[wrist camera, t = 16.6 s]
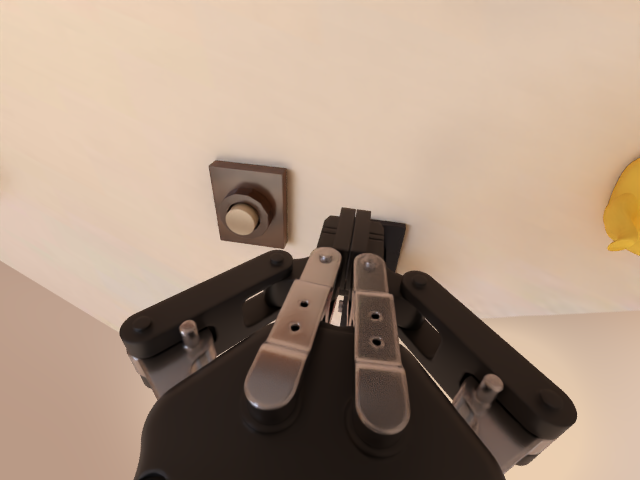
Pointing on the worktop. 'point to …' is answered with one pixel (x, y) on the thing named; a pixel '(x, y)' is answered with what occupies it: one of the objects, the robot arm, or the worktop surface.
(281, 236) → the button block
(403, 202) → the worktop surface
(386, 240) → the bracket
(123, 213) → the worktop surface
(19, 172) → the worktop surface
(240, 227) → the button
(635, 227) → the teapot
